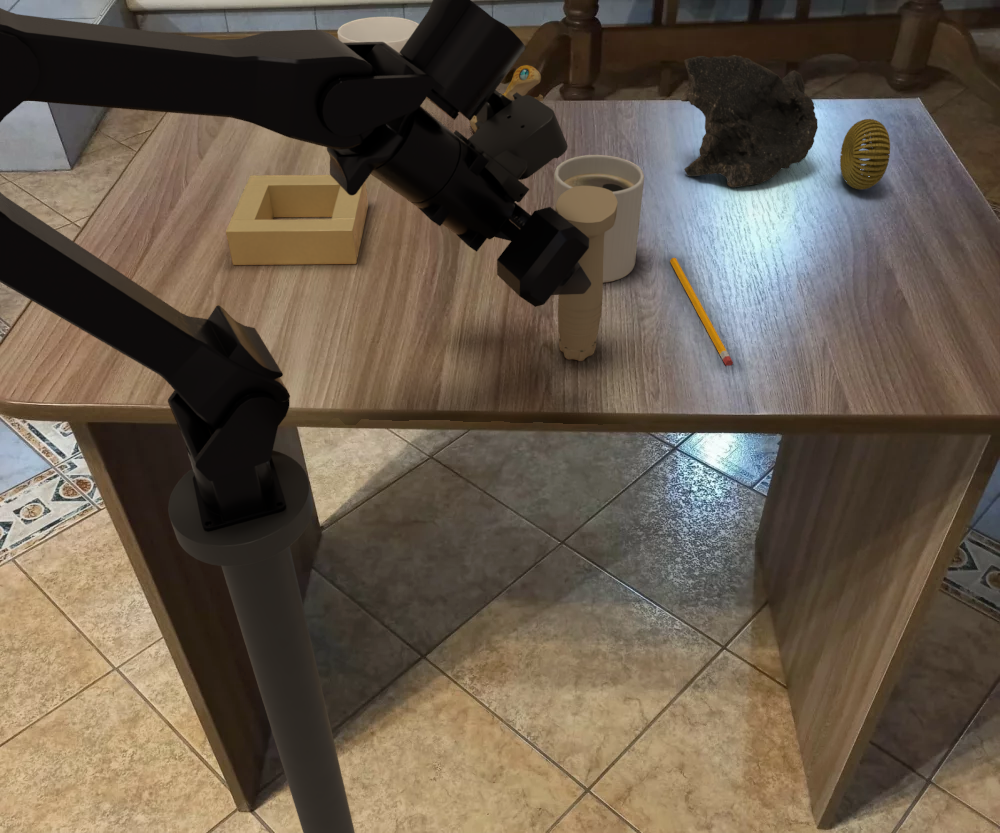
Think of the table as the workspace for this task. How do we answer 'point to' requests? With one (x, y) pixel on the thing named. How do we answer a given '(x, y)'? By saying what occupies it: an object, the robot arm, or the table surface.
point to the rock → (748, 119)
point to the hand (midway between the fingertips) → (556, 262)
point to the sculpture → (865, 154)
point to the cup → (378, 31)
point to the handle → (585, 268)
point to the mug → (628, 192)
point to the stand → (296, 221)
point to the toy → (519, 85)
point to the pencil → (701, 313)
